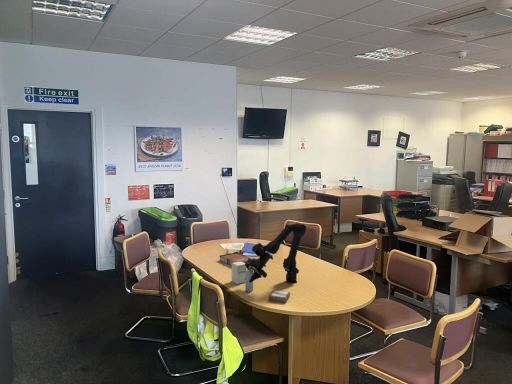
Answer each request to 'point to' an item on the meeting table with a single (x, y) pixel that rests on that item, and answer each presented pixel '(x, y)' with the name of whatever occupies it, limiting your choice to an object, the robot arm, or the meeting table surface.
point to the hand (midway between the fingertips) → (247, 280)
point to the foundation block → (279, 296)
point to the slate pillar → (248, 284)
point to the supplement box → (238, 272)
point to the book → (233, 258)
